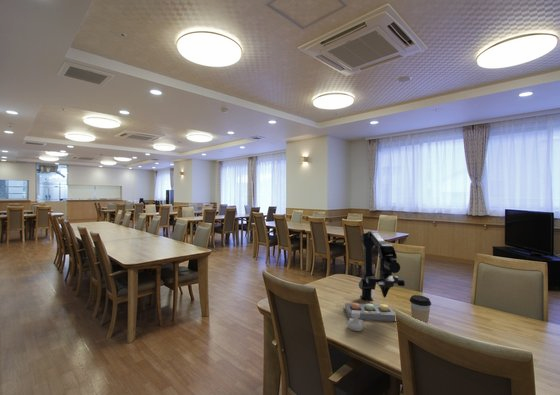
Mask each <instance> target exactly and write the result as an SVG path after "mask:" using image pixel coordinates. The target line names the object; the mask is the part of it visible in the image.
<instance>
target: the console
mask: <svg viewBox="0 0 560 395" xmlns="http://www.w3.org/2000/svg"><path fill="white" fill-rule="evenodd" d="M352 303H353V302H352ZM352 303H351V302H345V303H344V309H345V313H346V315H347V318H348V319H350V318H353V317H351V313H352V310H353V309H352V308H351V304H352ZM359 304H360V309H359V310H356V311H360V317H359V318H358V319H359V320H365V321H366V320H367V321H383V322H385V321H387V322H396V321H395V313H396V312H395V311H394V309H392V307H391V306H390V305H389V304H387V305H388V306H389V311H387V312H381V310H380V305H381V304H373V305H374V310H373V311H367V309H365V307H366V304H367V303H359Z"/></svg>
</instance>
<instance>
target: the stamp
mask: <svg viewBox="0 0 560 395" xmlns="http://www.w3.org/2000/svg"><path fill="white" fill-rule="evenodd" d="M351 317H353V318H350V319H349V318H348V319H349V320H348V321H347V320H346V322H345V325H347V326H346V327H347V328H348V329H349V330H350V331H355V332H361V331H362V330H363V329H365V328H366V324H364V319H358V318H359V317H360V311H356V310H352V313H351Z"/></svg>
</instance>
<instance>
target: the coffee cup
mask: <svg viewBox="0 0 560 395" xmlns="http://www.w3.org/2000/svg"><path fill="white" fill-rule="evenodd" d="M408 301H409V302H410V309H411V311H410V312H411V318H412V317H413V318H415V319H418V320H420V321H423V322H425V323H427V324H428V322H429V318H430V310H431V306H432V302H431V300H430V298H429V297H427V296H424V295H421V294H414V295H411V297H409V300H408Z"/></svg>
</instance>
